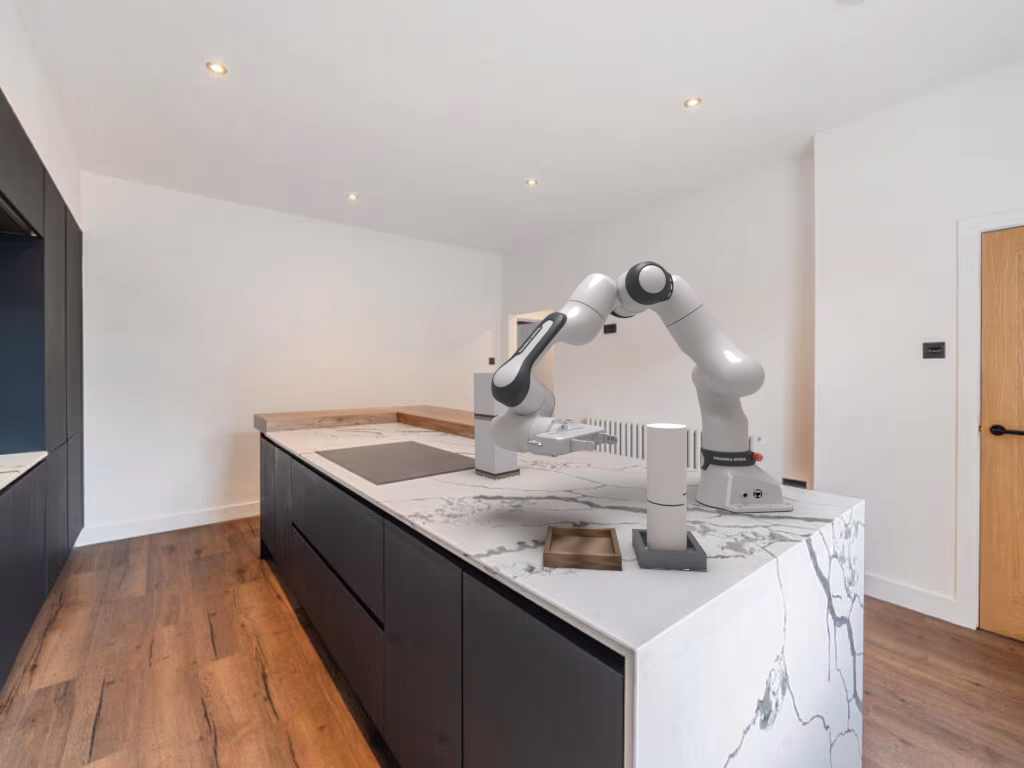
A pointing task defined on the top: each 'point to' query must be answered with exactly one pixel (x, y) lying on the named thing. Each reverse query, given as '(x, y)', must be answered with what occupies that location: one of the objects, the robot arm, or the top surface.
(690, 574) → the top surface
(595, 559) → the walnut tray
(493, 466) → the banded white pillar
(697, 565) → the gray square tray
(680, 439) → the cylindrical container
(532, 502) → the top surface
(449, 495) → the top surface
